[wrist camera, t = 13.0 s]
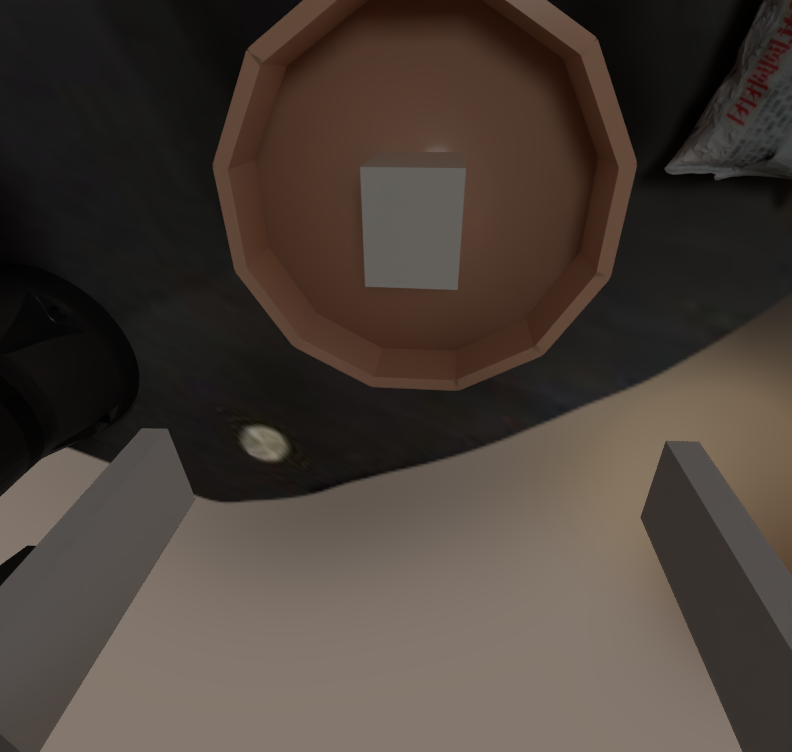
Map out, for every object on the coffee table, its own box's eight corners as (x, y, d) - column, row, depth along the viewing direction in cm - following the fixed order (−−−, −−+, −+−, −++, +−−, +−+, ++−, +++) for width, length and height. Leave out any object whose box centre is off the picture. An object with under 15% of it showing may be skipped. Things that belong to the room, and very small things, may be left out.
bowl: (281, 347, 36) (258, 381, 32) (219, -10, 25) (171, -29, 20) (566, 357, 34) (582, 396, 30) (645, -30, 22) (688, -56, 18)
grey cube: (380, 252, 30) (365, 286, 25) (377, 151, 27) (360, 167, 22) (457, 255, 30) (457, 289, 25) (464, 152, 27) (466, 168, 22)
